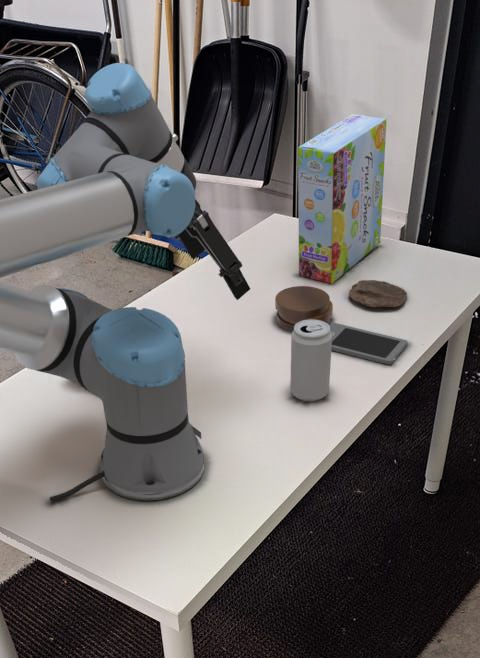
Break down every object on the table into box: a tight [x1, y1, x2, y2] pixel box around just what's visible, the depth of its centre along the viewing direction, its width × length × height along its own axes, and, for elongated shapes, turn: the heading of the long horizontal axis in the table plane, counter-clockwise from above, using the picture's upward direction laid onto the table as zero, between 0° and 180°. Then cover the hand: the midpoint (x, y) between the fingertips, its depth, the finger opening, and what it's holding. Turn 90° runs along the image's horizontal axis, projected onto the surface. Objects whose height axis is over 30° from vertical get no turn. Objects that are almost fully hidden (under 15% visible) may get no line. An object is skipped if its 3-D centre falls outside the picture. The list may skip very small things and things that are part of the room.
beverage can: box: [289, 319, 332, 402], centre depth 137 cm, size 6×6×12 cm
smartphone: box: [329, 322, 408, 365], centre depth 152 cm, size 15×8×1 cm, turn 60°
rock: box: [348, 279, 408, 308], centre depth 165 cm, size 11×12×3 cm
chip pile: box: [274, 285, 334, 333], centre depth 158 cm, size 10×10×4 cm
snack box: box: [297, 113, 387, 285], centre depth 170 cm, size 22×9×26 cm, turn 146°
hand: (220, 273), depth 137 cm, fingers open, 13 cm apart
